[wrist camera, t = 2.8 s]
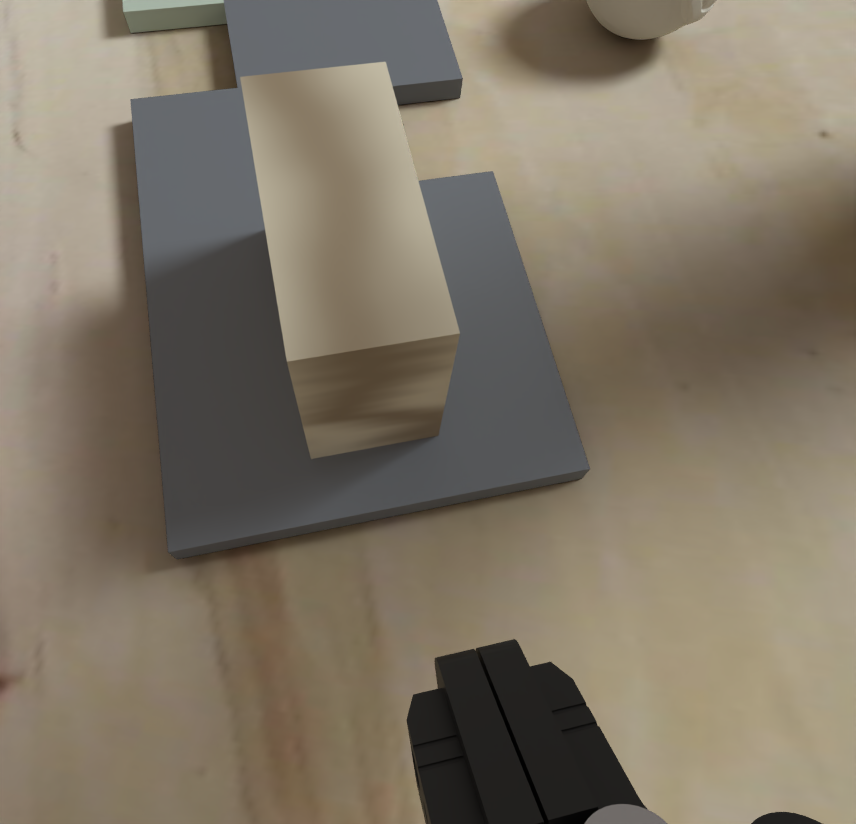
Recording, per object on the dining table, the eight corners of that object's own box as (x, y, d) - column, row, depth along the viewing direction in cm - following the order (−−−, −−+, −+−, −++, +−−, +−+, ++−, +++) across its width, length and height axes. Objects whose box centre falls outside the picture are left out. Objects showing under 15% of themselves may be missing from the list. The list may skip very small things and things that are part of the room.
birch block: (383, 212, 32) (385, 61, 25) (438, 435, 28) (460, 333, 21) (271, 227, 31) (240, 76, 24) (310, 459, 27) (286, 361, 20)
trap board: (386, -131, 44) (387, -188, 41) (581, 478, 29) (603, 452, 26) (118, -114, 42) (100, -172, 39) (176, 559, 27) (153, 540, 24)
